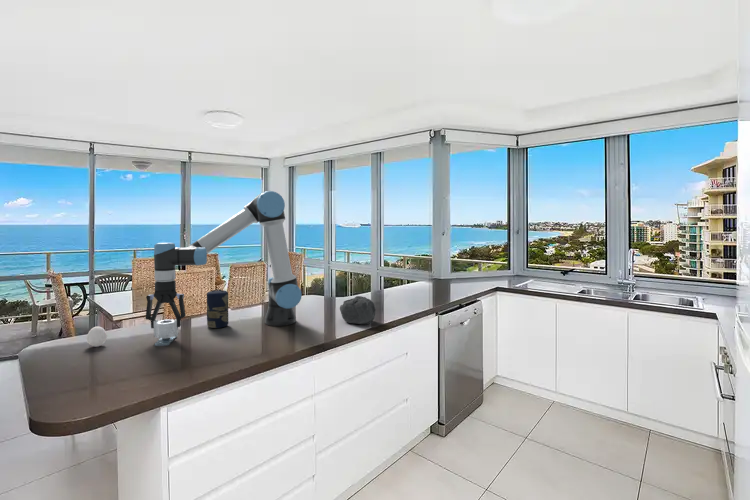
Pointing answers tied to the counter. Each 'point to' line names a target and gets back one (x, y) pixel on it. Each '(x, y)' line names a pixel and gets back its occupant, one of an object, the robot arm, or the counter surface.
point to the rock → (358, 310)
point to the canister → (217, 308)
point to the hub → (165, 329)
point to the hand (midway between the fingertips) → (166, 335)
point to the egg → (96, 336)
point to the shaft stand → (164, 341)
